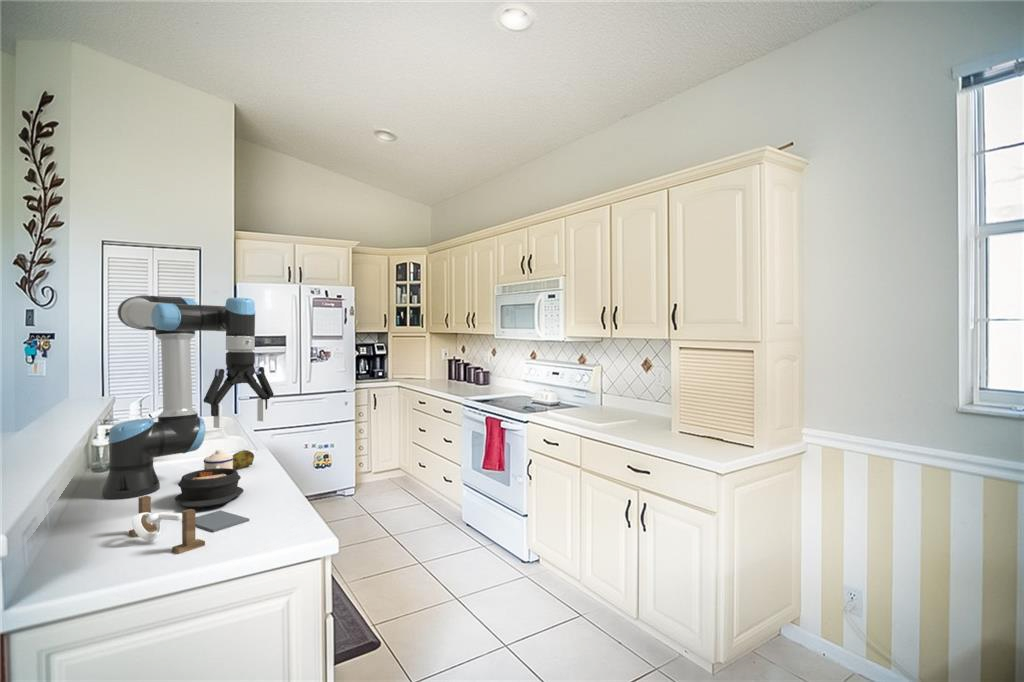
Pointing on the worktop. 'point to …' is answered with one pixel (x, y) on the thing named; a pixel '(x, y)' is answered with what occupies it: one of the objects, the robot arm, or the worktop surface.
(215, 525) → the mat
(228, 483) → the casserole
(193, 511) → the rack
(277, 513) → the worktop surface
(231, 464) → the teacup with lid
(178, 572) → the worktop surface
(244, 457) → the potato
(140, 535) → the white vr controller
